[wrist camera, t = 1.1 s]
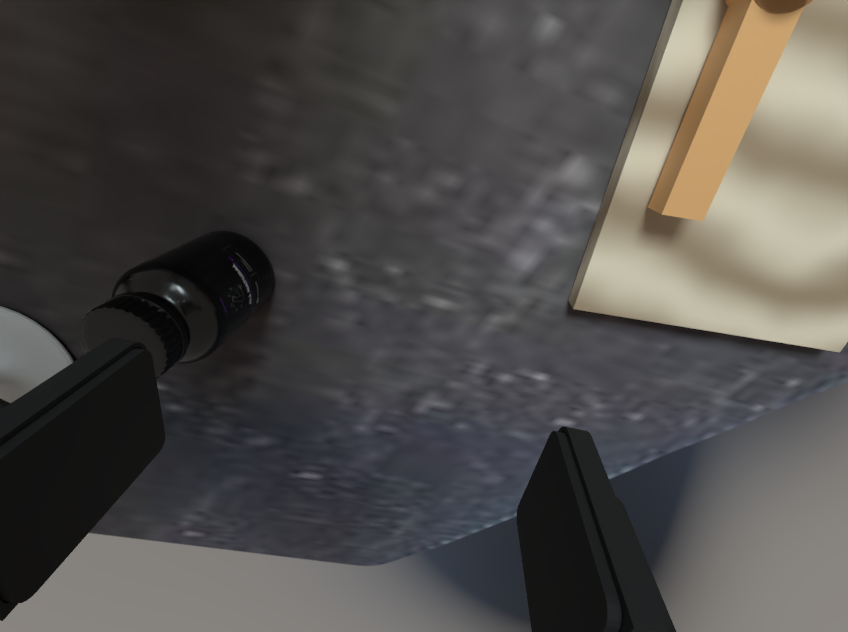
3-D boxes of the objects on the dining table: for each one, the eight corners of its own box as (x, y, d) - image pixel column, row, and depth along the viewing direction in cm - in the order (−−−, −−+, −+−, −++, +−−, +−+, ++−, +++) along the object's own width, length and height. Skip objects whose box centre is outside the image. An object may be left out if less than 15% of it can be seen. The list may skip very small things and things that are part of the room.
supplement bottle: (292, 268, 32) (209, 349, 21) (250, 322, 34) (156, 418, 24) (217, 208, 30) (85, 264, 19) (178, 270, 33) (43, 349, 22)
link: (748, -87, 19) (778, -106, 18) (831, -74, 19) (868, -92, 18) (636, 205, 26) (649, 212, 24) (697, 215, 26) (715, 223, 24)
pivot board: (726, -158, 19) (822, -254, 14) (1136, -94, 19) (1379, -167, 14) (568, 300, 31) (589, 338, 26) (823, 341, 31) (895, 388, 26)
